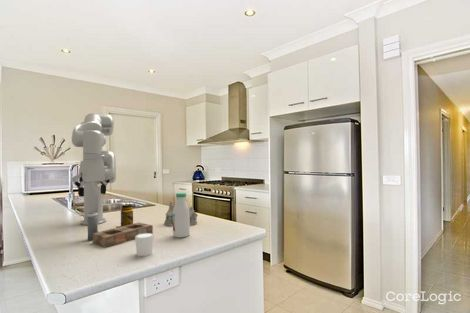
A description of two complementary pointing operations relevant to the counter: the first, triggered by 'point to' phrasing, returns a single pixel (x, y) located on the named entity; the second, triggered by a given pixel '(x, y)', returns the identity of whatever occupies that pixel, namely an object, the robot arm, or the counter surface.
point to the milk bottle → (181, 217)
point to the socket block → (121, 234)
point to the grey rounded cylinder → (92, 224)
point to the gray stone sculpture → (170, 215)
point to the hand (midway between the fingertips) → (92, 195)
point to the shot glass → (144, 244)
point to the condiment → (126, 215)
